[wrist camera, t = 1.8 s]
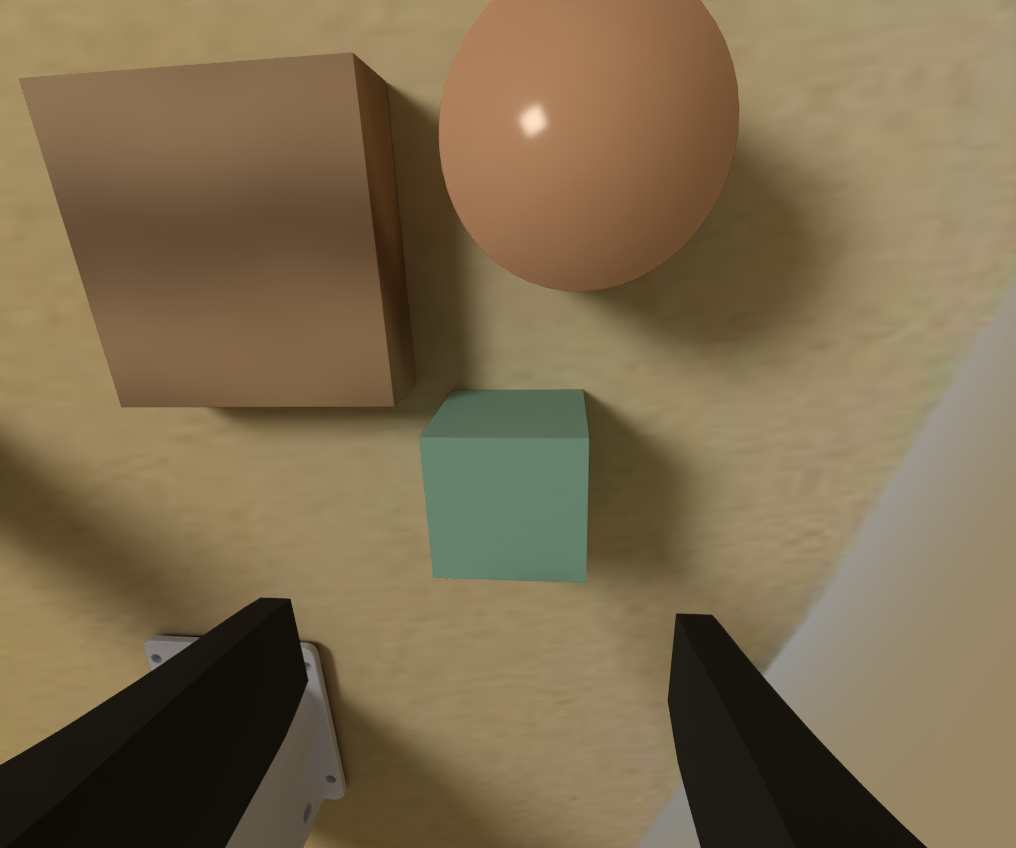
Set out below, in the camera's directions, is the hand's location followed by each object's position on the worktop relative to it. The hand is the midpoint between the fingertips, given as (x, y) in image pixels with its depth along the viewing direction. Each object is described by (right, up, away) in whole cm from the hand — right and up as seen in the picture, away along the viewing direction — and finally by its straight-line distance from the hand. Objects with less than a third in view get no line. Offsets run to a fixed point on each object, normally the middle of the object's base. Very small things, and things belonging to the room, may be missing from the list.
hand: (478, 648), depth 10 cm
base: (-7, +10, +7) cm, 14 cm away
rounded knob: (+3, +12, +6) cm, 13 cm away
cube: (+1, +3, +9) cm, 10 cm away
